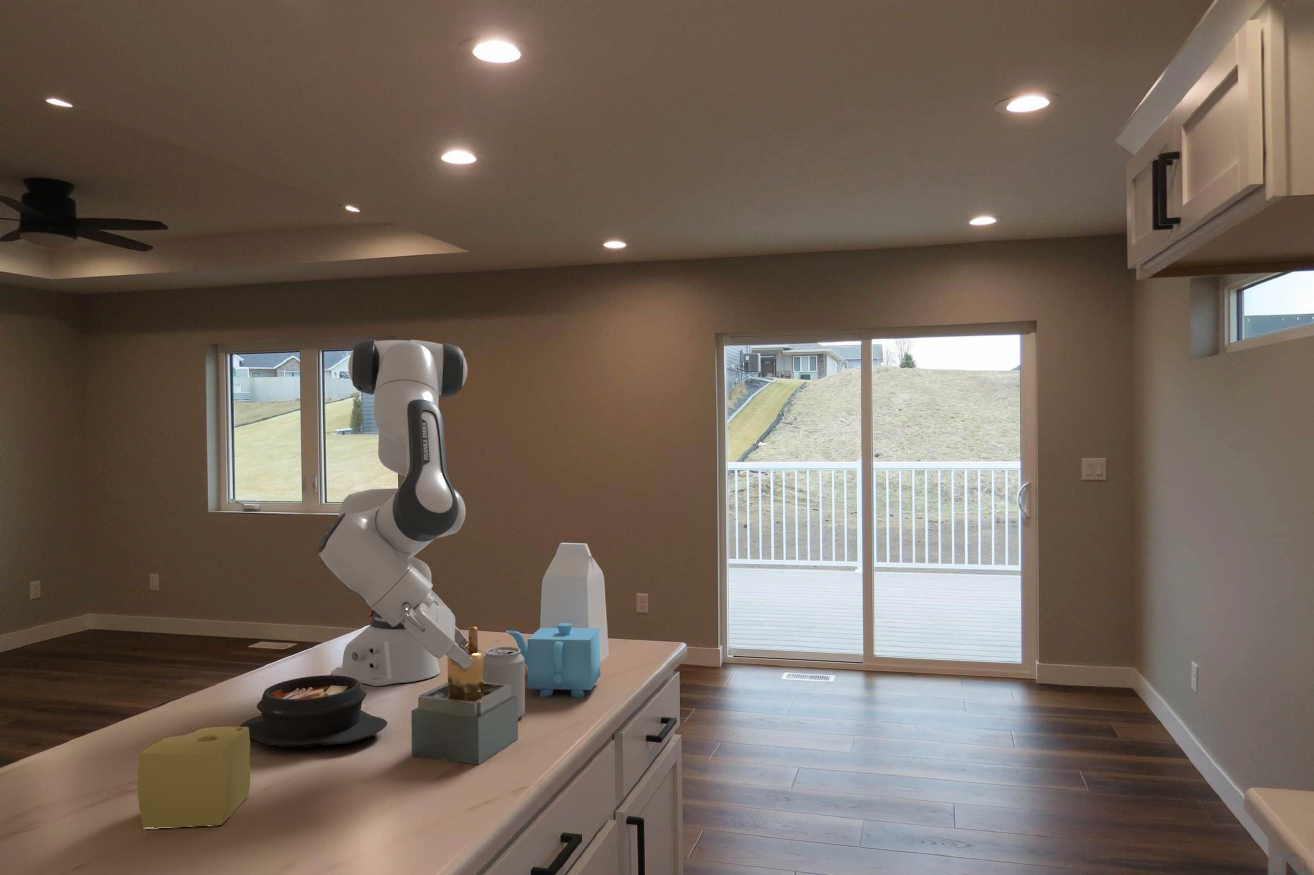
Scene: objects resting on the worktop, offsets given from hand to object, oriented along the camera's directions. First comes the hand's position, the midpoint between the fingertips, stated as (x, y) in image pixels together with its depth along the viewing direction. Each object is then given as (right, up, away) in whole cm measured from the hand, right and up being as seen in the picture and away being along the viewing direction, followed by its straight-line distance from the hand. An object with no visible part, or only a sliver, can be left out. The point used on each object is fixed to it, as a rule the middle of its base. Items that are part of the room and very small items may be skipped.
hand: (469, 656), depth 141 cm
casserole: (-27, -15, +6) cm, 31 cm away
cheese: (-31, -15, -24) cm, 42 cm away
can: (+3, -15, +15) cm, 21 cm away
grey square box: (-1, -14, 0) cm, 14 cm away
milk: (+12, -14, +53) cm, 56 cm away
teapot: (+9, -14, +31) cm, 36 cm away
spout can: (-1, -7, 0) cm, 7 cm away
